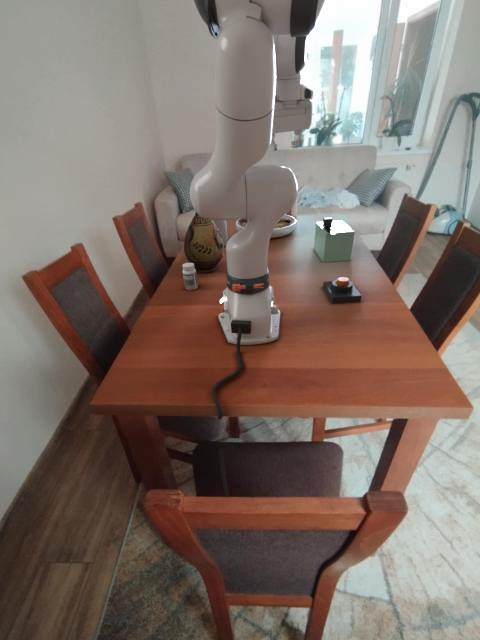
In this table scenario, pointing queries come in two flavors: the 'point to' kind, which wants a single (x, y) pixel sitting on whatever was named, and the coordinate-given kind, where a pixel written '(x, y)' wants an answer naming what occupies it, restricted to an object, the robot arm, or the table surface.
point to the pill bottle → (190, 276)
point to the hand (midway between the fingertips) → (284, 149)
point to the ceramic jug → (203, 244)
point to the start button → (342, 281)
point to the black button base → (341, 292)
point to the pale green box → (334, 241)
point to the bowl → (281, 228)
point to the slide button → (327, 222)
